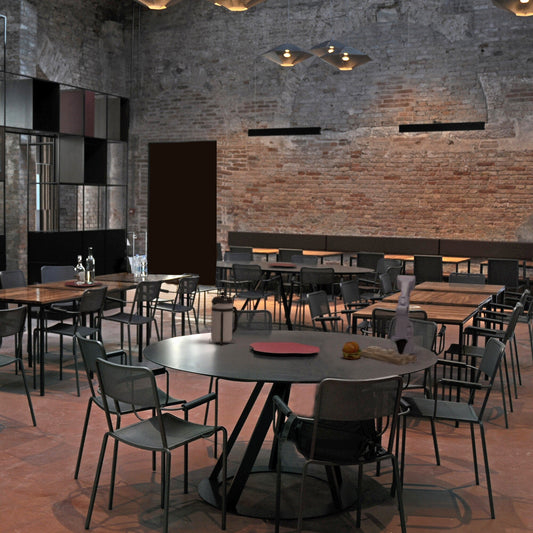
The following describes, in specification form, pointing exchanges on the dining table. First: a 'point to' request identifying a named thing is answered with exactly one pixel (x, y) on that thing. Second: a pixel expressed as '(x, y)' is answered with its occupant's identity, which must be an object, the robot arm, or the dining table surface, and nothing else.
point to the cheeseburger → (351, 350)
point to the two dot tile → (386, 351)
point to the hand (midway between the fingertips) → (400, 353)
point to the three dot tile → (400, 355)
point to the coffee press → (223, 319)
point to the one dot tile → (374, 348)
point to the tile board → (387, 357)
